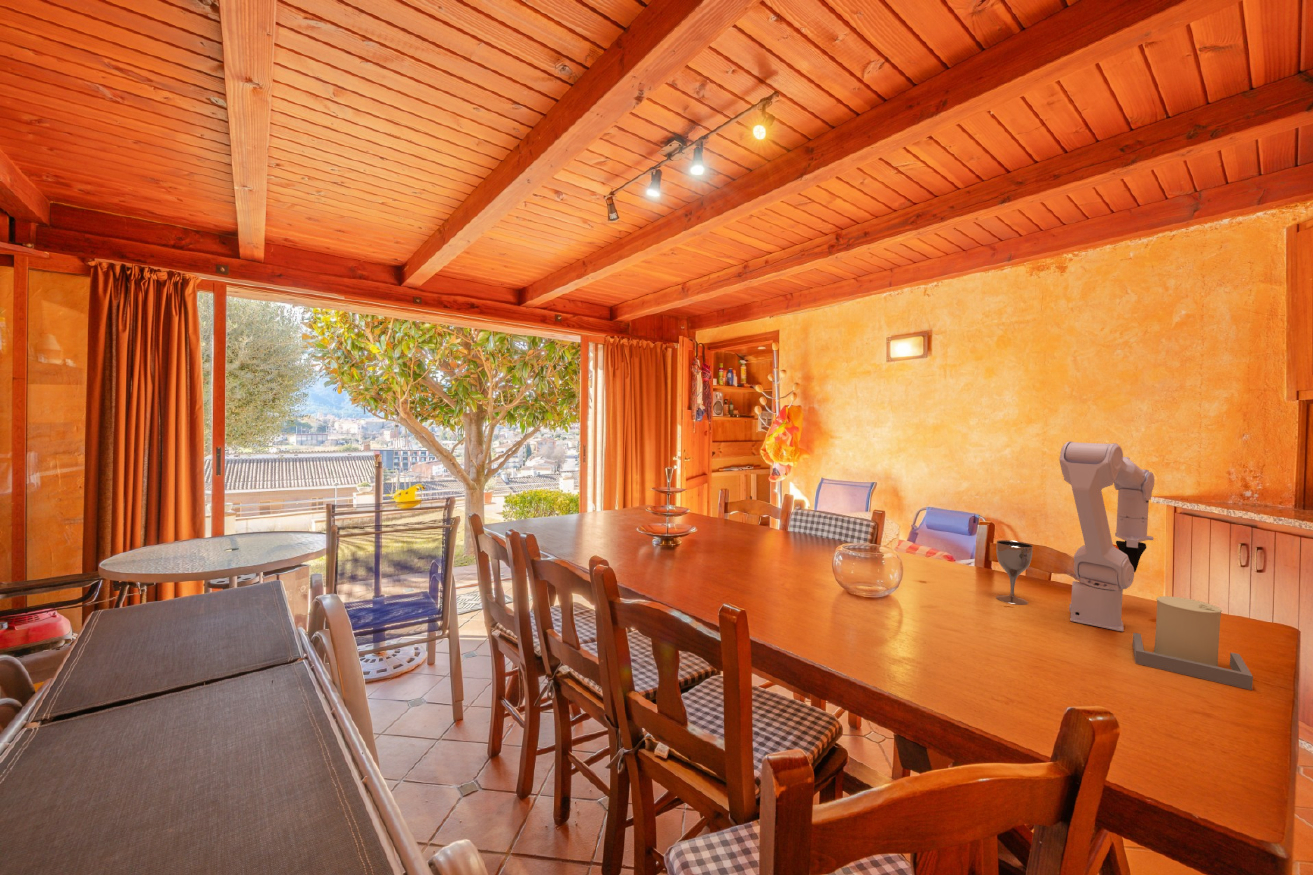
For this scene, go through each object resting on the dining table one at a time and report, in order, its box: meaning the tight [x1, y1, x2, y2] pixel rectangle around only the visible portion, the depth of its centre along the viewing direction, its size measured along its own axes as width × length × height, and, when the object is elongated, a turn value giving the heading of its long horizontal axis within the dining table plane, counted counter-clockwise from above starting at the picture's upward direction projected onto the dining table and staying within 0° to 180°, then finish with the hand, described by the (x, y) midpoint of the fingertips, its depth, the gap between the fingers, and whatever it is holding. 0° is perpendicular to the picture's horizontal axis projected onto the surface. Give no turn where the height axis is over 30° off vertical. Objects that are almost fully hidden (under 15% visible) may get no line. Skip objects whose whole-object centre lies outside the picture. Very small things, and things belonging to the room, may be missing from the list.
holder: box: [1132, 632, 1254, 691], centre depth 104 cm, size 15×12×2 cm
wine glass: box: [995, 539, 1034, 606], centre depth 141 cm, size 8×8×15 cm
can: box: [1153, 595, 1223, 667], centre depth 106 cm, size 9×9×12 cm
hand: (1129, 571), depth 133 cm, fingers closed
